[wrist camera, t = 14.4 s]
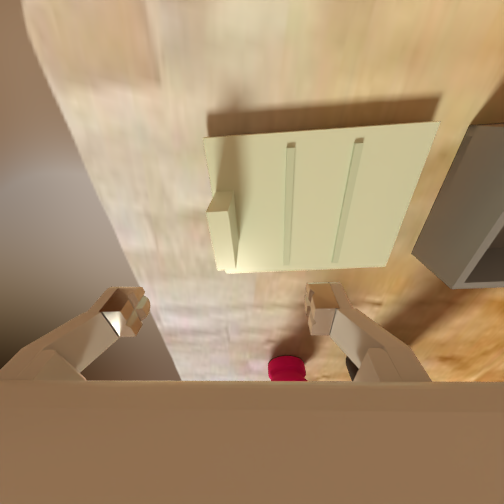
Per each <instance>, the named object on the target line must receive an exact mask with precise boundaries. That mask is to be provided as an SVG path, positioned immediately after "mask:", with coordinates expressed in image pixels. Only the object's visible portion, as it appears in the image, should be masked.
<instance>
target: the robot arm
mask: <svg viewBox="0 0 504 504" xmlns="http://www.w3.org/2000/svg"><path fill="white" fill-rule="evenodd" d="M306 292H307V294H306V295H305V299H304V306H305V312H306V315H307V316H308V317H309V319H308V325H309V329H310V333H311V335H330V337H331V338H332V340H333V341H334V342H335V343H336V344H337V345H338V346H339V347H340V348H341V350H342V351H343V352H344V353H345V354H346V355H347V356H348V357H349V358H350V359H351V361H352V362H353V363H354V364H355V365H356V366H357V367H358V368H359V370H358V372H357V374H356V376H355V378H354V380H353V381H86V379H85V378H84V377H83V376H82V375H81V374H80V372H81V371H82V370H83V369H85V368H86V367H87V366H88V365H89V364H90V363H91V362H92V361H93V360H95V359H96V358H97V357H98V356H99V355H100V354H101V353H103V352H104V351H105V350H106V349H107V348H108V347H109V346H111V345H112V344H113V343H114V342H115V341H116V340H117V339H118V338H119V337H135V336H137V334H138V332H139V330H140V328H141V327H142V320H143V319H145V318H146V317H147V315H148V314H149V311H150V301H149V299H148V298H147V297H145V296H144V293H145V291H144V289H143V287H110V288H108V289H107V290H106V291H105V292H104V293H103V294H102V296H101V297H100V298H99V299H98V300H97V301H96V302H95V304H94V305H93V306H92V307H91V308H90V310H88V312H87V313H82V314H80V315H79V316H77V317H75V318H74V319H72V320H70V321H69V322H67V323H65V324H63V325H62V326H60V327H58V328H56V329H55V330H53V331H51V332H50V333H48V334H46V335H44V336H43V337H41V338H39V339H38V340H36V341H34V342H32V343H31V344H29V345H27V346H26V347H24V348H22V349H21V350H20V351H19V352H18V353H17V354H16V355H15V356H14V357H13V358H12V359H11V360H10V361H9V362H8V363H7V364H6V365H5V366H4V367H3V368H2V369H1V370H0V504H504V382H432V381H431V379H430V377H429V376H428V374H427V373H426V371H425V370H424V368H423V367H422V365H421V363H420V362H419V360H418V359H417V357H416V356H415V354H414V353H413V351H412V349H411V348H410V347H409V346H408V345H406V344H405V343H404V342H402V341H401V340H399V339H398V338H397V337H395V336H394V335H392V334H391V333H390V332H388V331H387V330H385V329H384V328H383V327H381V326H380V325H379V324H377V323H376V322H374V321H373V320H372V319H370V318H369V317H367V316H366V315H365V314H363V313H362V312H361V311H359V310H358V309H353V307H352V305H351V303H350V301H349V299H348V297H347V295H346V293H345V291H344V289H343V287H342V285H341V283H340V282H324V283H307V284H306Z"/></svg>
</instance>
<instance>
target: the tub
mask: <svg viewBox="0 0 504 504" xmlns="http://www.w3.org/2000/svg"><path fill="white" fill-rule="evenodd" d="M411 254H413V255H414V256H415V257H416V258H417V259H418V260H419V261H420V262H421V263H423V264H424V265H425V266H426V267H427V268H428V269H429V270H430V271H432V272H433V273H434V274H435V275H436V276H437V277H438V278H439V279H441V280H442V281H443V282H444V283H445V284H446V285H447V286H448V287H449V288H451V289H470V288H497V287H504V123H495V124H480V125H470V126H469V128H468V130H467V132H466V135H465V137H464V139H463V141H462V143H461V146H460V148H459V150H458V152H457V154H456V157H455V159H454V161H453V163H452V165H451V168H450V170H449V172H448V174H447V176H446V179H445V181H444V183H443V185H442V187H441V190H440V192H439V194H438V196H437V198H436V201H435V203H434V205H433V207H432V209H431V212H430V214H429V216H428V218H427V220H426V223H425V225H424V227H423V229H422V231H421V234H420V236H419V238H418V240H417V242H416V245H415V247H414V249H413V251H412V253H411Z"/></svg>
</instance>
